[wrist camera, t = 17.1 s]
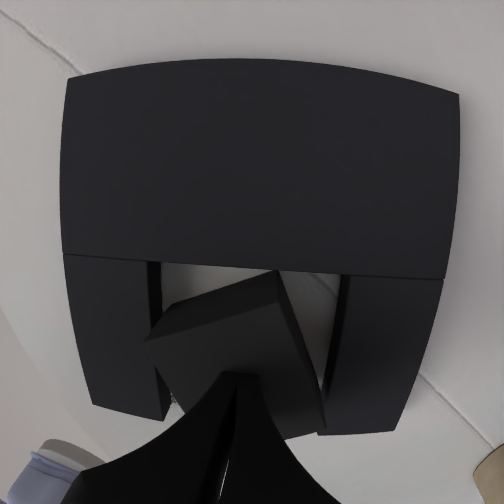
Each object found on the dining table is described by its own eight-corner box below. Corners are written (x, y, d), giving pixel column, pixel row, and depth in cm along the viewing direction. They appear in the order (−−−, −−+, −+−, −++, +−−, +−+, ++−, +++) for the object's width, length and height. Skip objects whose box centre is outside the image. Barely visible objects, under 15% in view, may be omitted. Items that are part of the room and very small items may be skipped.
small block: (317, 379, 14) (327, 429, 11) (222, 404, 15) (212, 453, 11) (277, 268, 13) (279, 301, 9) (170, 304, 13) (141, 342, 10)
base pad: (387, 413, 14) (394, 431, 13) (103, 389, 15) (92, 404, 14) (442, 100, 10) (459, 93, 9) (85, 85, 11) (67, 78, 10)
